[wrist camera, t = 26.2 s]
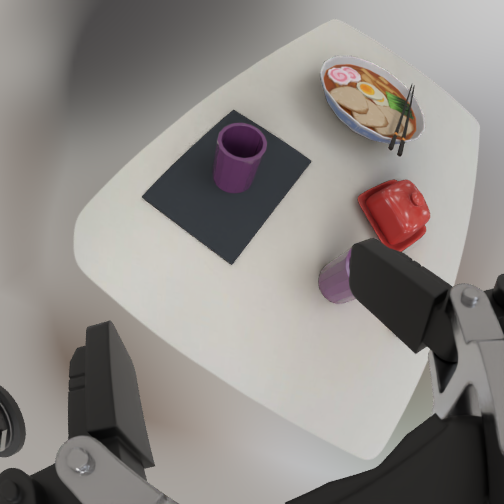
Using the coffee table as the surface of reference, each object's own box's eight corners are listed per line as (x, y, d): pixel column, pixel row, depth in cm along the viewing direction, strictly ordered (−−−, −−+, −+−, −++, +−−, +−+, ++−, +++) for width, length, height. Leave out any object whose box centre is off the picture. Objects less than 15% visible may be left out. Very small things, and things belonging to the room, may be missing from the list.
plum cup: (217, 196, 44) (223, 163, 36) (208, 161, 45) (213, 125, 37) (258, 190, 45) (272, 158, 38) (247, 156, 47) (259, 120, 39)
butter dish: (425, 234, 50) (455, 215, 42) (386, 261, 47) (418, 244, 39) (392, 180, 52) (418, 156, 44) (349, 200, 49) (376, 174, 41)
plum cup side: (325, 308, 42) (355, 298, 34) (313, 266, 44) (339, 248, 36) (361, 297, 44) (394, 285, 36) (348, 257, 45) (378, 238, 38)
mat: (231, 265, 42) (232, 264, 41) (142, 197, 42) (141, 196, 42) (310, 162, 49) (311, 160, 49) (233, 111, 50) (233, 109, 50)
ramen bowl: (331, 63, 60) (344, 38, 53) (414, 118, 60) (433, 97, 53) (284, 119, 51) (298, 87, 44) (392, 189, 51) (417, 167, 44)
